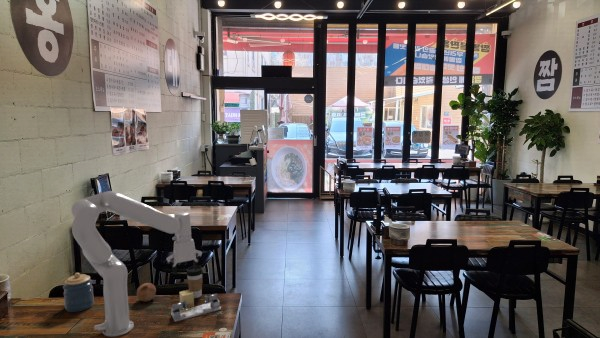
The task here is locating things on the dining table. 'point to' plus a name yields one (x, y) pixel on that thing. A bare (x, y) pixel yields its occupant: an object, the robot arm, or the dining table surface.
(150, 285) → the onion
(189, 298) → the tan wooden cube
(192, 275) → the coffee cup
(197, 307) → the shaft bench
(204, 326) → the dining table surface
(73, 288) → the canister
